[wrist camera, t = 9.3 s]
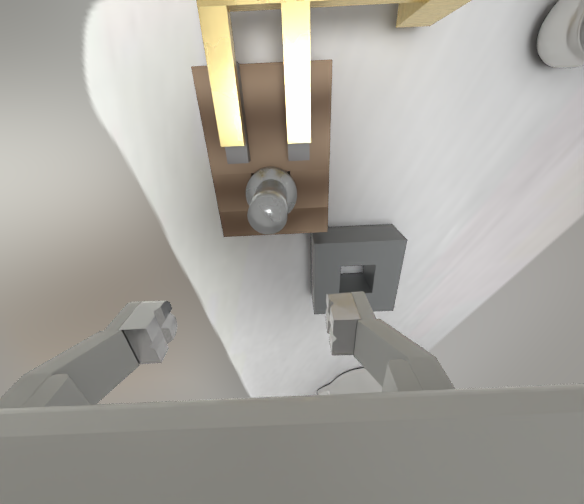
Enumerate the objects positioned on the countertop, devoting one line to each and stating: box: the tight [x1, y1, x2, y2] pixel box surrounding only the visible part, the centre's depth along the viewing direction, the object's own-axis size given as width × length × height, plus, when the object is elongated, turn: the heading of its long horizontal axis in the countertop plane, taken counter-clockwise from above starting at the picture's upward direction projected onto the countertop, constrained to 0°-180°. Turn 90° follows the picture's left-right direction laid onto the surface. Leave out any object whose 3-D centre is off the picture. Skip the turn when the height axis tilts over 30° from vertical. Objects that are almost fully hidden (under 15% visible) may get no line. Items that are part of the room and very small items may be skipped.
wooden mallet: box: [196, 0, 471, 147], centre depth 20 cm, size 12×19×7 cm, turn 92°
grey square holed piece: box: [311, 224, 407, 314], centre depth 34 cm, size 11×11×5 cm
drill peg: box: [246, 166, 297, 235], centre depth 25 cm, size 5×5×12 cm
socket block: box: [191, 60, 332, 237], centre depth 27 cm, size 16×12×6 cm
